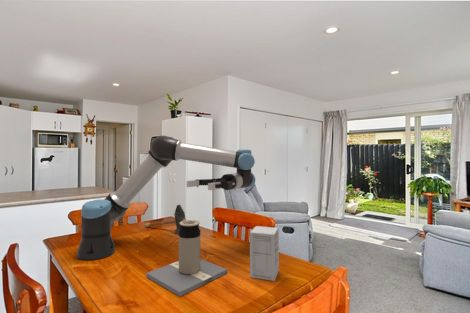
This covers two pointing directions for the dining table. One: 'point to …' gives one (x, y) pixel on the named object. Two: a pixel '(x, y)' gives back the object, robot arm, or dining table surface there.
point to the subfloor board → (185, 277)
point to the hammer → (178, 218)
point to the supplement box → (264, 253)
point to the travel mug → (189, 247)
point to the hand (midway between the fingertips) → (197, 185)
